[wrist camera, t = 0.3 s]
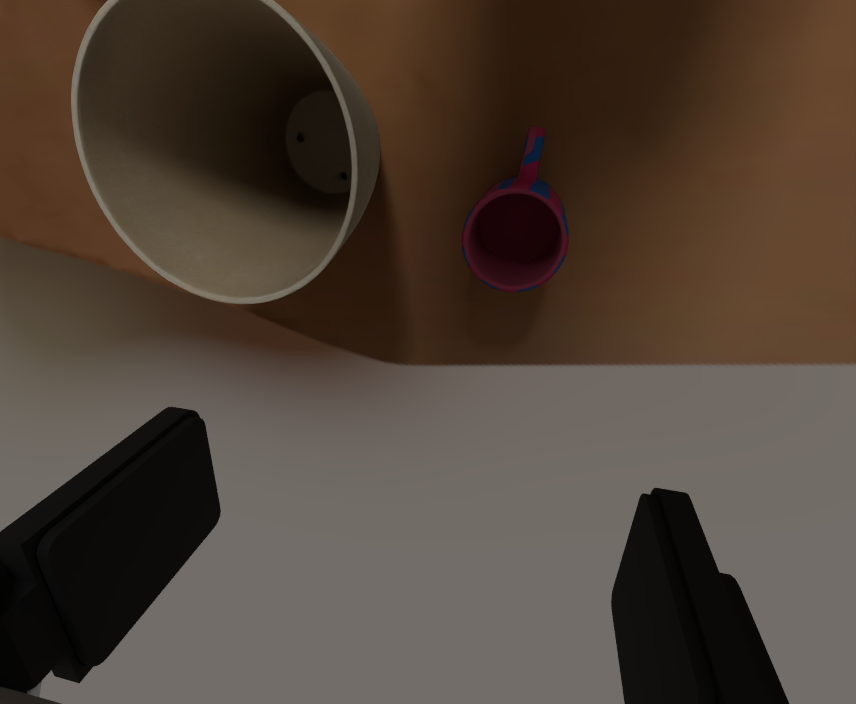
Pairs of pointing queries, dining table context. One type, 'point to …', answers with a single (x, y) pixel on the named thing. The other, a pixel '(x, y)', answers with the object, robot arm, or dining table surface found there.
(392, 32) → the dining table surface
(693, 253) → the dining table surface
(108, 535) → the robot arm
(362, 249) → the dining table surface
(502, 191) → the mug
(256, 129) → the plant pot
